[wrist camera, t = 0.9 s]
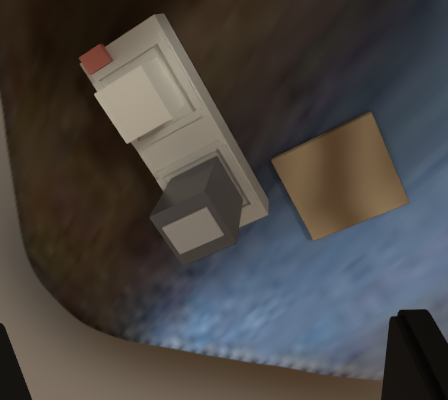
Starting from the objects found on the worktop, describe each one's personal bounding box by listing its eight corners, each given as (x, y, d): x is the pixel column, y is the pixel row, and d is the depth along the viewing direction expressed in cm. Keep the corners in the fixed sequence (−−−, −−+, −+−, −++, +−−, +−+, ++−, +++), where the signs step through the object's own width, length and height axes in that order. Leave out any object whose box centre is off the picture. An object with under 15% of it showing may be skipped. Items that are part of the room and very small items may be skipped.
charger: (171, 178, 35) (148, 218, 28) (217, 155, 33) (203, 192, 27) (198, 220, 36) (182, 267, 30) (243, 199, 35) (236, 244, 28)
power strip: (92, 55, 34) (51, 67, 28) (161, 9, 32) (134, 11, 25) (204, 228, 40) (191, 270, 34) (268, 199, 38) (268, 239, 32)
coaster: (370, 111, 33) (371, 112, 33) (407, 199, 36) (409, 202, 36) (271, 158, 36) (271, 161, 36) (313, 237, 39) (313, 240, 39)
